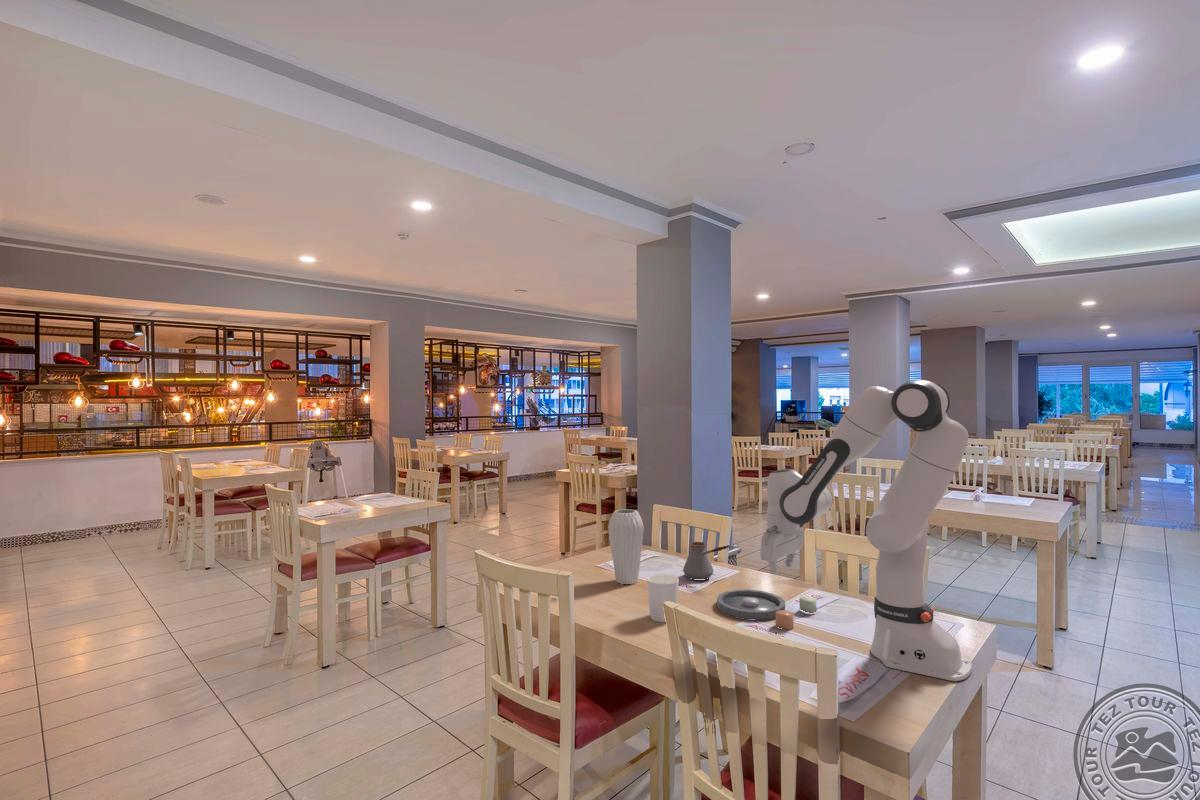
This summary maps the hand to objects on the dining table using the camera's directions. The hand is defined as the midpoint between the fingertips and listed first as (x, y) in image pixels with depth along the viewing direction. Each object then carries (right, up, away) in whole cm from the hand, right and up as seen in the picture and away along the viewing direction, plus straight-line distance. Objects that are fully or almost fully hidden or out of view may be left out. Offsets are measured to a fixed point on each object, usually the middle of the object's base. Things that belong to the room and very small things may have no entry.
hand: (781, 569), depth 167 cm
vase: (-44, -18, +44) cm, 65 cm away
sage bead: (+12, -17, +11) cm, 23 cm away
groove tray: (-5, -17, +15) cm, 23 cm away
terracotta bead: (+1, -17, -1) cm, 17 cm away
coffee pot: (-13, -17, +44) cm, 49 cm away
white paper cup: (-34, -17, +8) cm, 39 cm away
